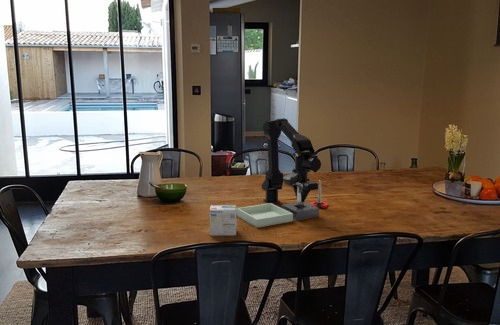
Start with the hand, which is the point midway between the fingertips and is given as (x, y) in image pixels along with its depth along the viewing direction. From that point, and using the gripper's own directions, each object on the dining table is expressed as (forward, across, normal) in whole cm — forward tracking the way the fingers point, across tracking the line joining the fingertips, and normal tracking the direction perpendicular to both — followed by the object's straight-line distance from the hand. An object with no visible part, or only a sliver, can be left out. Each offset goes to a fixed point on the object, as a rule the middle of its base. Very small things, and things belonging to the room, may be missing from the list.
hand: (300, 201), depth 222 cm
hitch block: (+6, 0, 0) cm, 6 cm away
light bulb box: (+7, +5, -41) cm, 42 cm away
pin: (+5, 0, 0) cm, 5 cm away
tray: (+6, -3, -17) cm, 18 cm away
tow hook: (+7, -8, +17) cm, 20 cm away
